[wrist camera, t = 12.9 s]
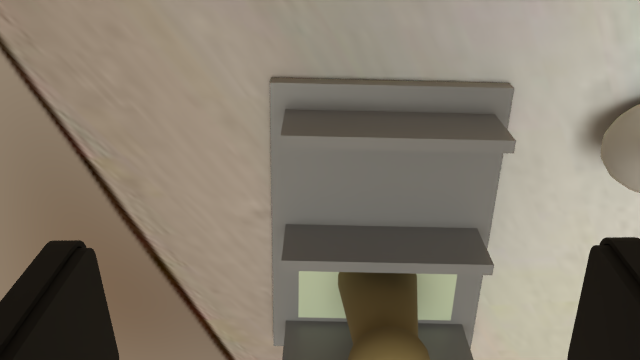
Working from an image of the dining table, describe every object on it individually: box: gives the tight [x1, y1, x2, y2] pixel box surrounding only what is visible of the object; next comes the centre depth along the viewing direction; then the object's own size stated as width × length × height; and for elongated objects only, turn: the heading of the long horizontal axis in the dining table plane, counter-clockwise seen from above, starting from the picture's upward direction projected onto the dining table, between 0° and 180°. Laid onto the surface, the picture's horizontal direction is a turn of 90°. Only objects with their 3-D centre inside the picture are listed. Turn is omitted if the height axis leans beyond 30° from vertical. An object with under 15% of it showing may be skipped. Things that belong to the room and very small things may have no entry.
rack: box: [270, 78, 516, 360], centre depth 42 cm, size 16×22×6 cm
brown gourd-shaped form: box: [338, 272, 430, 360], centre depth 40 cm, size 6×6×11 cm
